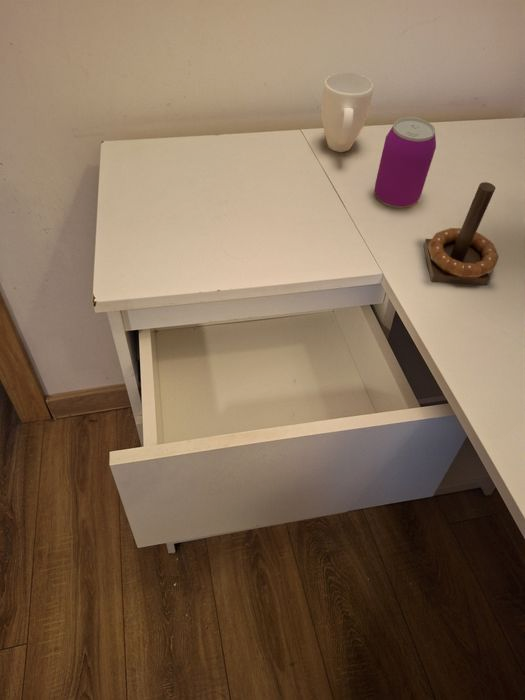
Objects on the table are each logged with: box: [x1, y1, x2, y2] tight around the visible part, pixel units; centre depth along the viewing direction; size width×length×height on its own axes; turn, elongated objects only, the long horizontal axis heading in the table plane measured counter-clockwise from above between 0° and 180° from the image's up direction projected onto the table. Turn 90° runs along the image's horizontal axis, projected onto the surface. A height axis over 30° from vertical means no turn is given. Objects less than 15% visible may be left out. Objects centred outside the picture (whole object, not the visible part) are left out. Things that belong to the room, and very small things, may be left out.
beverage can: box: [374, 117, 437, 209], centre depth 81 cm, size 8×8×12 cm
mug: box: [320, 71, 374, 153], centre depth 90 cm, size 12×8×11 cm
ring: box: [428, 227, 499, 278], centre depth 74 cm, size 10×10×2 cm
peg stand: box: [423, 181, 496, 285], centre depth 71 cm, size 8×8×13 cm
